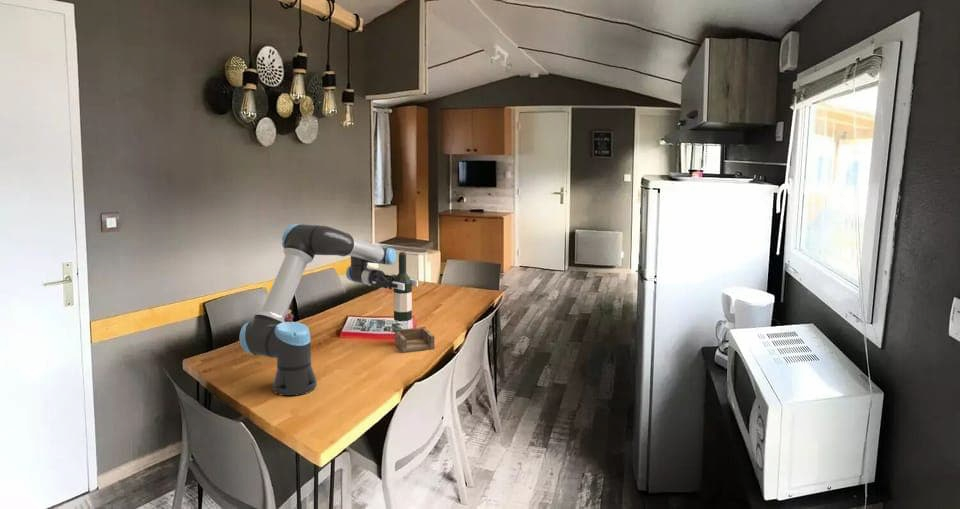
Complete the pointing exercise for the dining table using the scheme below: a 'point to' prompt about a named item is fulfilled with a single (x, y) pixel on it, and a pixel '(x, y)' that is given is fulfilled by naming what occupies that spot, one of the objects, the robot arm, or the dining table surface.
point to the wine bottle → (403, 293)
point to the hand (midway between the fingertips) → (410, 285)
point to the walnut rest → (414, 339)
